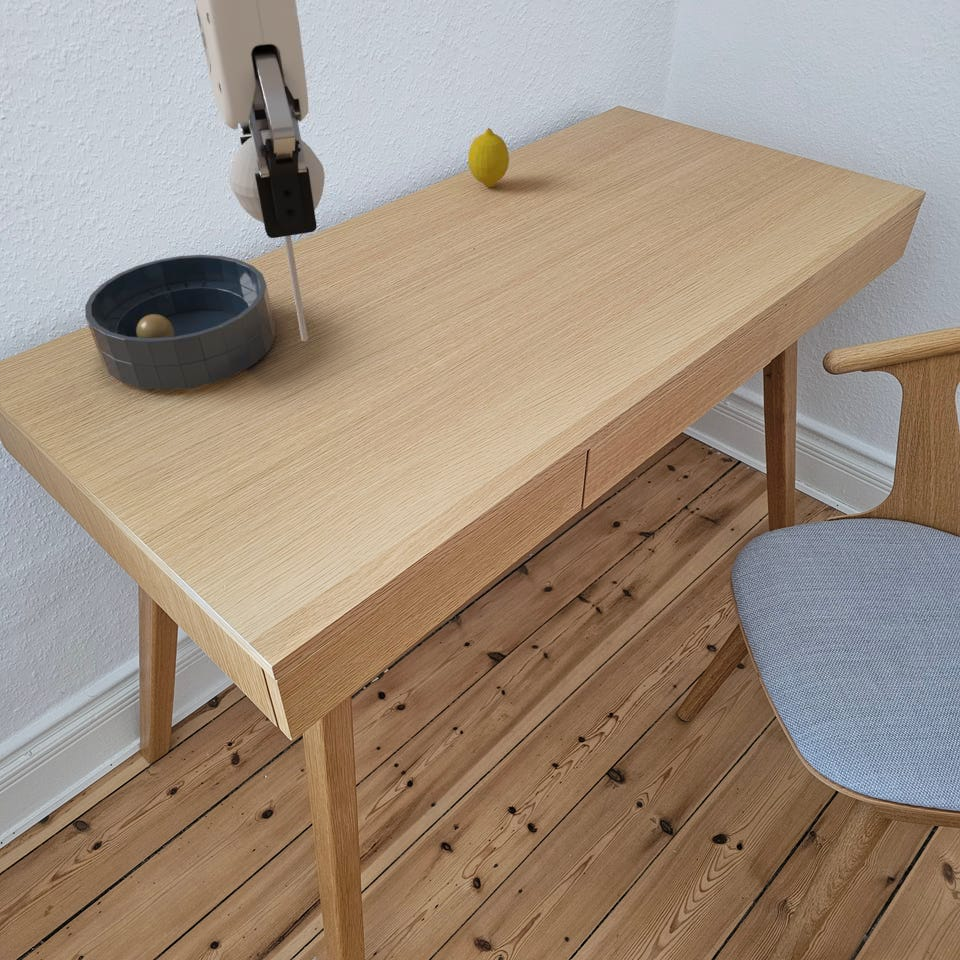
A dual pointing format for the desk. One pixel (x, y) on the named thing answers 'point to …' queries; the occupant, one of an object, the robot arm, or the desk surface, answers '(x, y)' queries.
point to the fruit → (488, 158)
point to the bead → (154, 327)
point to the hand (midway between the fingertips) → (282, 210)
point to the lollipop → (249, 200)
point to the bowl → (182, 321)
